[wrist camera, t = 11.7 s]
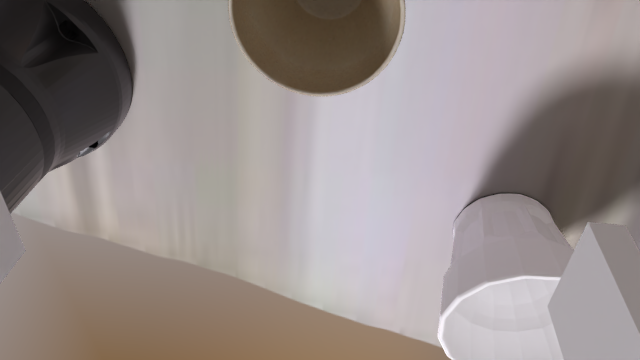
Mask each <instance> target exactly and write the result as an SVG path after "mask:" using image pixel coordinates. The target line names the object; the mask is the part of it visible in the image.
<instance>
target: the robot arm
mask: <svg viewBox="0 0 640 360" xmlns="http://www.w3.org/2000/svg"><path fill="white" fill-rule="evenodd" d="M131 97H132V82H131V75H130V71H129V67H128V63H127V60H126V58H125V55H124V53H123V51H122V48H121V46H120V45H119V43H118V41H117V39H116V37H115V36H114V34H113V33H112V31H111V30H110V28H109V27H108V26H107V24H106V23H105V22H104V21H103V19H102V18H101V17H100V16H99V15H98V14H97V13H96V12H95V11H94V10H93V9H92V8H91V7H90V6H89V5H88V4H87V3H86V2H85V1H84V0H0V283H1V282H2V281H3V280H4V278H5V277H6V276H7V274H8V273H9V272H10V270H11V269H12V268H13V266H14V265H15V264H16V263H17V261H18V260H19V259H20V258H21V256H22V255H23V254H24V252H25V251H26V250H25V248H24V245H23V243H22V241H21V238H20V236H19V233H18V231H17V229H16V227H15V224H14V222H13V220H12V217H11V215H10V214H11V213H12V211H13V210H14V209H15V208H16V207H17V206H18V205H19V204H20V203H21V201H22V200H23V199H24V198H25V197H26V196H27V195H28V194H29V192H30V191H31V190H32V189H33V188H34V187H35V186H36V185H37V183H38V182H39V181H40V180H41V179H42V178H43V177H44V176H45V175H46V174H47V173H48V172H50V171H52V170H54V169H56V168H58V167H60V166H63V165H65V164H67V163H69V162H71V161H73V160H74V159H76V158H78V157H81V156H84V155H86V154H88V153H90V152H92V151H94V150H96V149H97V148H99V147H100V146H101V145H103V144H104V143H105V142H106V141H107V140H108V139H109V138H110V137H111V136H112V135H113V133H114V132H115V131H116V130H117V129H118V127H119V126H120V125H121V124H122V122H123V121H124V119H125V117H126V115H127V113H128V110H129V107H130V103H131ZM547 307H548V310H549V313H550V316H551V320H552V323H553V326H554V329H555V333H556V336H557V339H558V342H559V346H560V349H561V352H562V355H563V359H564V360H640V251H639V249H638V248H637V246H636V244H635V242H634V240H633V238H632V236H631V235H630V233H629V231H628V229H627V227H626V225H617V224H606V223H596V222H588V223H587V225H586V227H585V229H584V231H583V233H582V235H581V237H580V239H579V241H578V244H577V246H576V248H575V250H574V252H573V254H572V256H571V258H570V260H569V262H568V264H567V266H566V268H565V270H564V273H563V275H562V277H561V279H560V281H559V283H558V285H557V287H556V289H555V291H554V293H553V295H552V297H551V299H550V302H549V304H548V306H547Z"/></svg>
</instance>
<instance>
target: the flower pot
mask: <svg viewBox="0 0 640 360" xmlns="http://www.w3.org/2000/svg"><path fill="white" fill-rule="evenodd" d="M228 12H229V19H230V24H231V28H232V31H233V34H234V37H235V39H236V42H237V44H238V45H239V47H240V49H241V51H242V52H243V54H244V55H245V57H246V58H247V59H248V61H249V62H250V63H251V64H252V65H253V67H255V69H256V70H257V71H259V72H260V73H261V74H262V75H263V76H264V77H266V78H267V79H268V80H270V81H271V82H273V83H275V84H277V85H278V86H280V87H282V88H285V89H287V90H290V91H292V92H295V93H299V94H303V95H309V96H334V95H339V94H343V93H347V92H350V91H352V90H355V89H357V88H359V87H361V86H363V85H365V84H367V83H368V82H370V81H371V80H373V79H374V78H375V77H376V76H377V75H378V74H379V73H380V72H381V71H382V70H383V69H384V68H385V67H386V66H387V65H388V64H389V62H390V61H391V59H392V58H393V56H394V54H395V52H396V50H397V48H398V46H399V44H400V41H401V38H402V35H403V31H404V25H405V0H228Z"/></svg>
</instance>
